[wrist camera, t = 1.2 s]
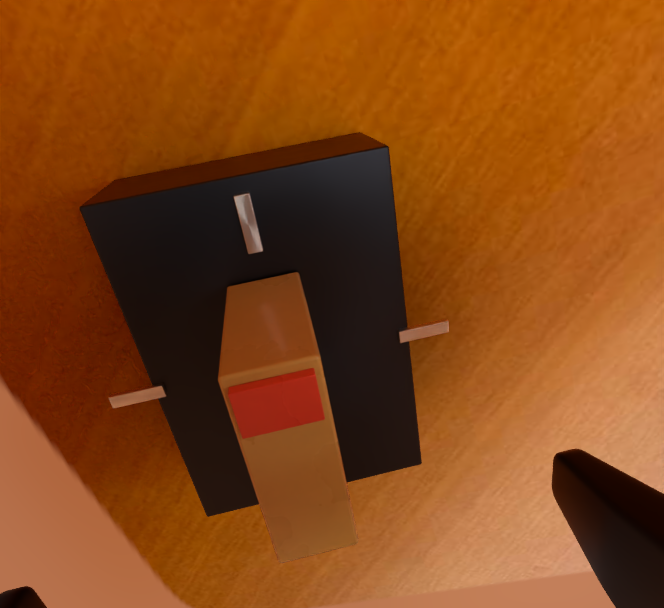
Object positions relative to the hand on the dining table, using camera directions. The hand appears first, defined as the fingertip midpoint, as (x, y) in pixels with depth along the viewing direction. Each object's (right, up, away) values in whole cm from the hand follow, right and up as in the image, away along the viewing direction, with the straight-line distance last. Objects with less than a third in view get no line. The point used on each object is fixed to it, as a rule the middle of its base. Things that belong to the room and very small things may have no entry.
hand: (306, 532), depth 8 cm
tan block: (-1, +2, +5) cm, 5 cm away
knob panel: (-1, +4, +7) cm, 8 cm away
